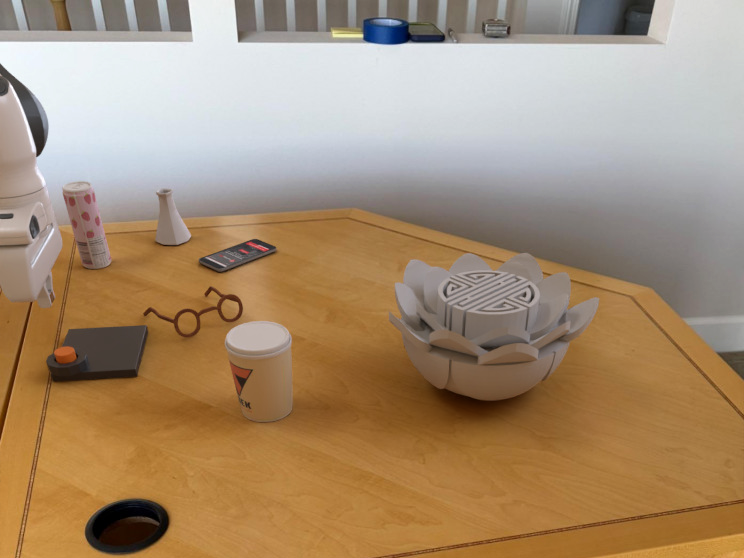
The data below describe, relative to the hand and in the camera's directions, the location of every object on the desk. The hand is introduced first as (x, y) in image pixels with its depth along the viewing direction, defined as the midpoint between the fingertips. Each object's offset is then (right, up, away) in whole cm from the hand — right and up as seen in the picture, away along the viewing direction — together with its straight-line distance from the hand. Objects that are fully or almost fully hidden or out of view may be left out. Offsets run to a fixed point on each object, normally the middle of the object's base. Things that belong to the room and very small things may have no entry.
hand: (47, 303), depth 115 cm
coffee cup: (+33, -16, +1) cm, 36 cm away
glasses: (+16, +4, +22) cm, 28 cm away
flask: (+4, +28, +49) cm, 57 cm away
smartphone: (+20, +22, +42) cm, 51 cm away
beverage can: (-8, +20, +40) cm, 45 cm away
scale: (+4, -5, +12) cm, 14 cm away
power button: (0, -7, +6) cm, 9 cm away
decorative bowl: (+65, -10, +8) cm, 66 cm away
